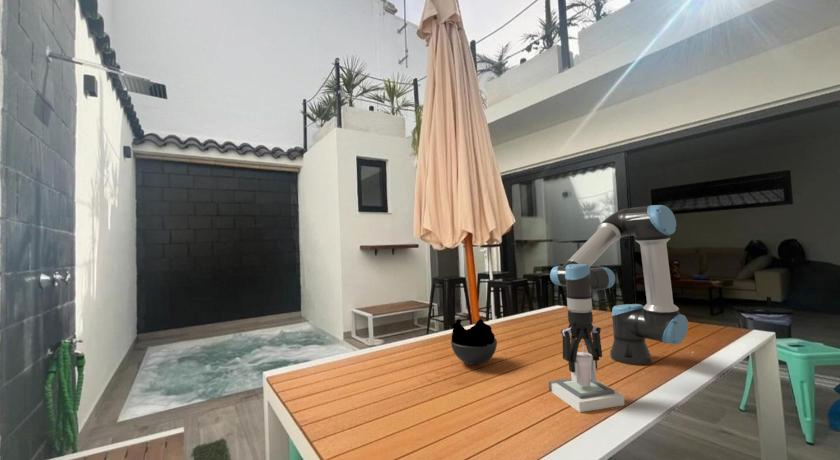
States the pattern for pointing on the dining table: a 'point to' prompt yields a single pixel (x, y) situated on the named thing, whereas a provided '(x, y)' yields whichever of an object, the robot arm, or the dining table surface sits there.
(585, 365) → the smoothie
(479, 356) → the bowl of black rocks
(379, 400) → the dining table surface
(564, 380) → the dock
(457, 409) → the dining table surface
